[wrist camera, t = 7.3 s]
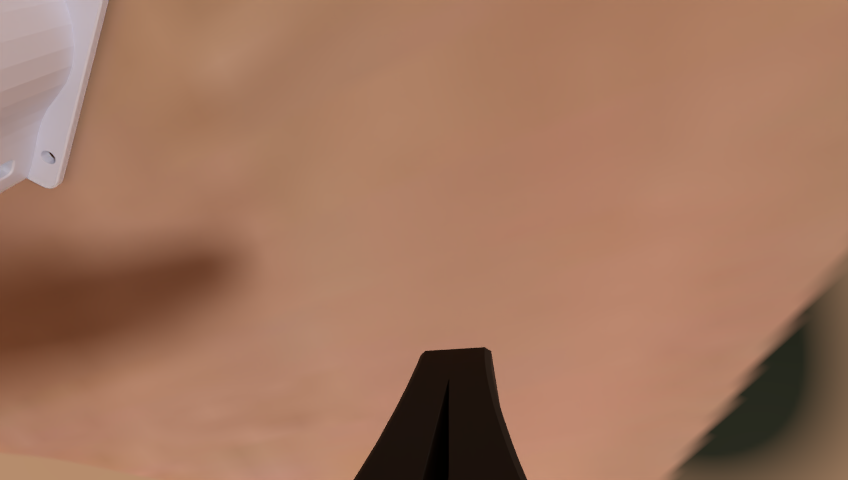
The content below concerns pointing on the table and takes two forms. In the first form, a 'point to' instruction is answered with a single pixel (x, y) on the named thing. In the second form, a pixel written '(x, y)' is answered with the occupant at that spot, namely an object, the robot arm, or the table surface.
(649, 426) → the table surface
